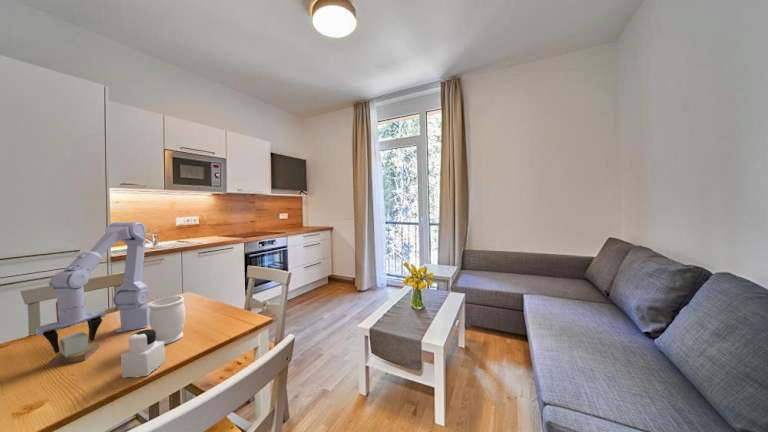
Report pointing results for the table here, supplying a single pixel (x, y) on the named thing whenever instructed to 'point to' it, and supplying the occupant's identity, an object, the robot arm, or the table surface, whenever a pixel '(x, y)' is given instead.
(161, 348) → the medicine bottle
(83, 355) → the walnut plinth
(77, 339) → the painted cube
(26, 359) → the table surface
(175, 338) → the jar
